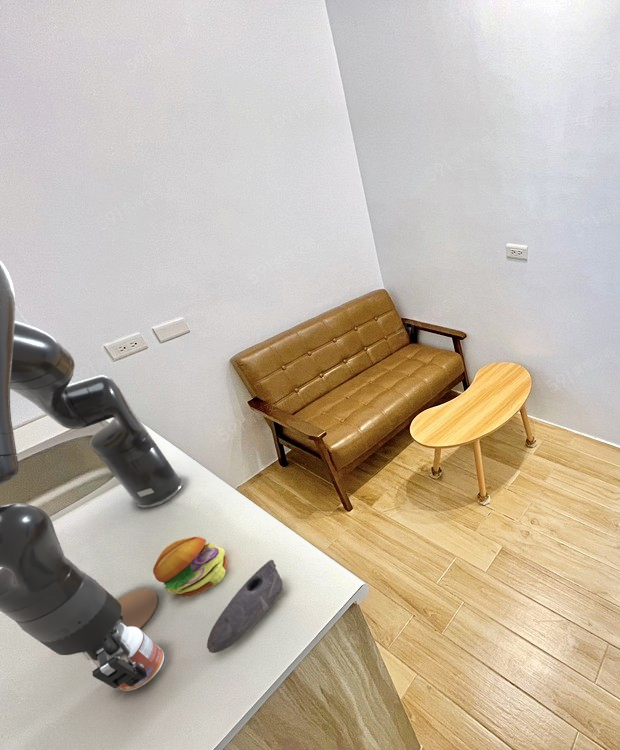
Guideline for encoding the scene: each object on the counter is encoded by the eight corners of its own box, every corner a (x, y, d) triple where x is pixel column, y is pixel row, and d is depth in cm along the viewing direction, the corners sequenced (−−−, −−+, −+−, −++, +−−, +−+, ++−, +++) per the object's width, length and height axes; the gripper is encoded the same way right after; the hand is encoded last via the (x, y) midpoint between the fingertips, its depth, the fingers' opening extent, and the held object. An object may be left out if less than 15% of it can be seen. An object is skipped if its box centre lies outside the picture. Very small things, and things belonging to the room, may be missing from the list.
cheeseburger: (203, 606, 73) (167, 577, 68) (165, 603, 76) (128, 574, 71) (243, 556, 81) (212, 527, 76) (207, 555, 84) (176, 527, 79)
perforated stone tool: (226, 666, 65) (208, 647, 61) (206, 652, 67) (187, 632, 63) (297, 584, 76) (286, 563, 73) (278, 573, 78) (266, 553, 74)
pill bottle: (113, 700, 61) (69, 671, 55) (126, 659, 66) (86, 628, 60) (160, 680, 63) (123, 649, 57) (169, 642, 68) (135, 610, 62)
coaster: (86, 619, 72) (85, 618, 72) (152, 579, 78) (151, 578, 78) (93, 661, 66) (92, 660, 66) (164, 614, 72) (163, 613, 72)
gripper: (113, 626, 52) (173, 677, 62) (98, 560, 61) (153, 613, 70) (35, 675, 48) (113, 722, 57) (30, 597, 56) (99, 649, 65)
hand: (134, 662), depth 63 cm, fingers closed on pill bottle, 6 cm apart
